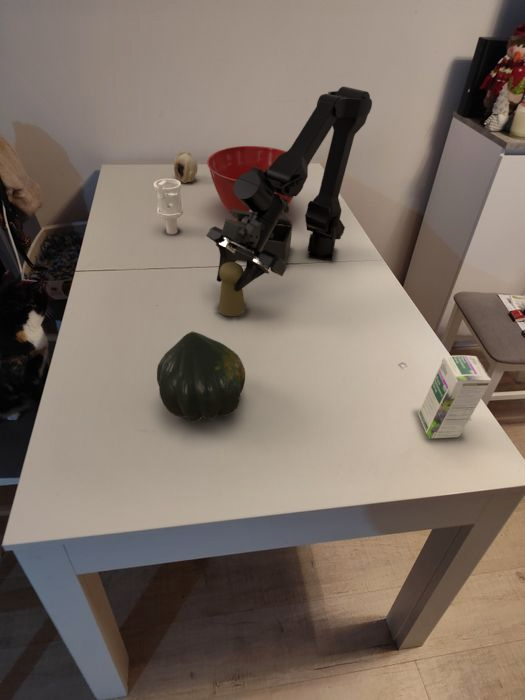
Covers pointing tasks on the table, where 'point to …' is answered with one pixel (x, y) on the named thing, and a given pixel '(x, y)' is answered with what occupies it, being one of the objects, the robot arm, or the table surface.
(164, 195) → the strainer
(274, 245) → the open black tray
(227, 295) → the peg doll
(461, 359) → the syrup box
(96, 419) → the table surface
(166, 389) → the squash
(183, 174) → the beige rounded hollow piece
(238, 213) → the lid
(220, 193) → the mixing bowl
